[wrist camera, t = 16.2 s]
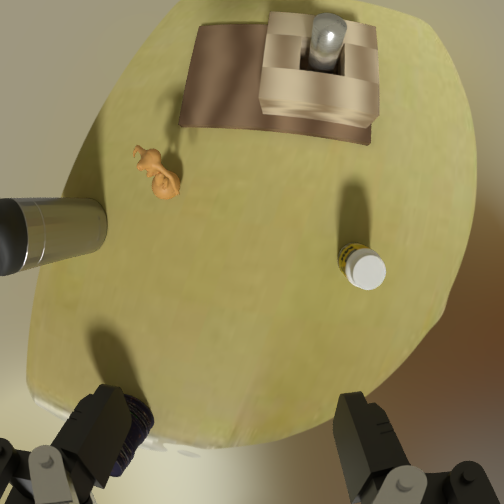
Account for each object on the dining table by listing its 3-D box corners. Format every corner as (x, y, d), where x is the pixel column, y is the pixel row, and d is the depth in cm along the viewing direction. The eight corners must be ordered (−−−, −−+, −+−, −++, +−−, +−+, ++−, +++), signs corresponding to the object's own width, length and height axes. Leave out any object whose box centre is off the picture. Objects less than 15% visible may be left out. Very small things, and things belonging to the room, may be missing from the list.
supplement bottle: (343, 237, 37) (358, 245, 29) (373, 248, 37) (395, 258, 29) (332, 270, 38) (343, 286, 30) (362, 280, 38) (380, 298, 30)
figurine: (144, 179, 40) (97, 171, 28) (169, 147, 38) (128, 127, 27) (183, 215, 40) (143, 217, 28) (210, 182, 38) (178, 171, 27)
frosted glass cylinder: (305, 84, 33) (312, 32, 21) (307, 64, 33) (313, 10, 20) (330, 88, 33) (347, 38, 20) (331, 68, 33) (346, 16, 20)
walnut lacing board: (182, 127, 38) (178, 124, 36) (201, 30, 35) (199, 26, 34) (367, 145, 35) (370, 143, 34) (367, 43, 32) (369, 38, 31)
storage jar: (161, 433, 47) (131, 482, 32) (122, 426, 48) (89, 469, 33) (145, 395, 45) (107, 445, 31) (105, 390, 47) (65, 432, 32)
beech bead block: (262, 113, 35) (258, 97, 29) (272, 34, 33) (269, 11, 27) (366, 128, 33) (379, 115, 27) (366, 47, 31) (375, 26, 25)
